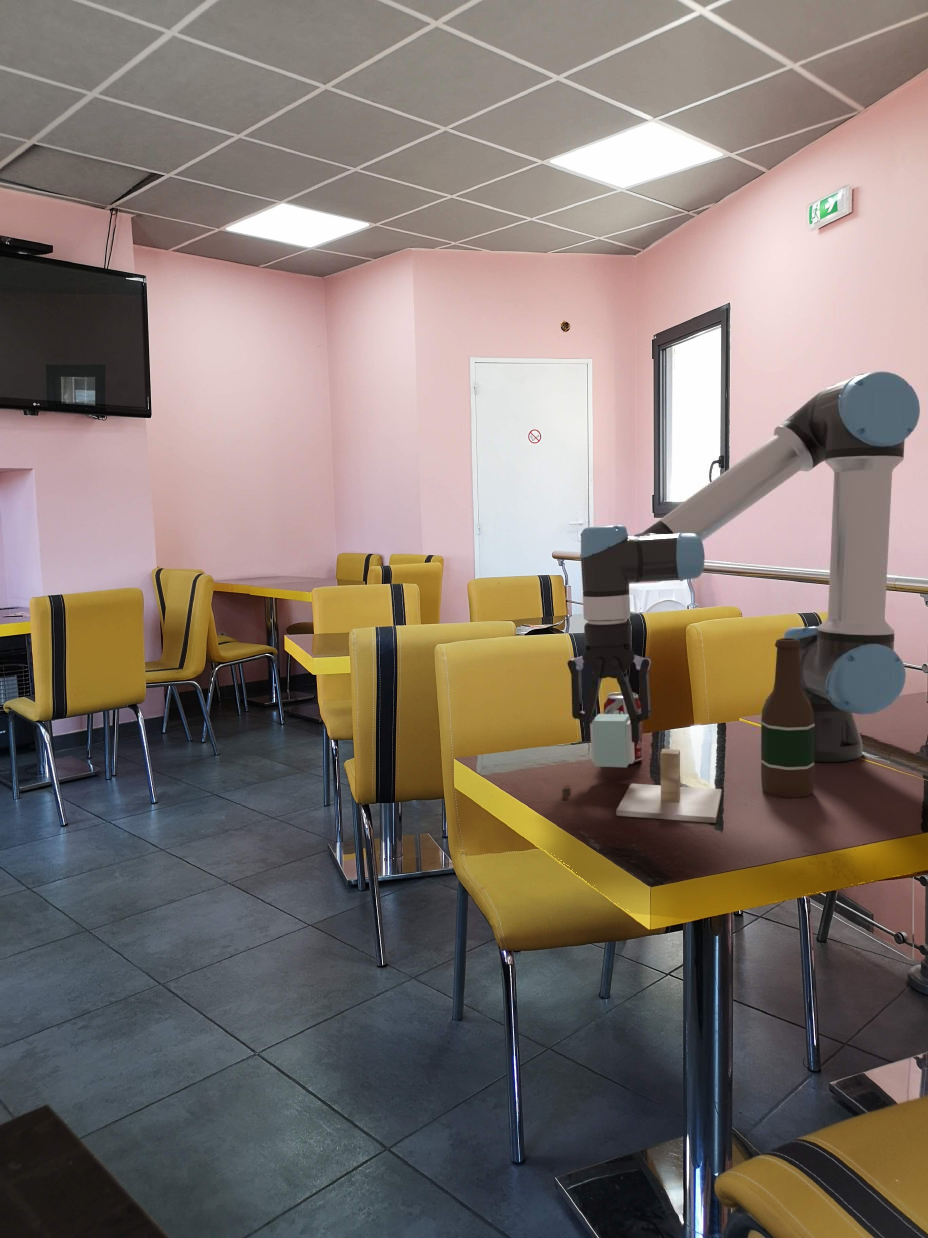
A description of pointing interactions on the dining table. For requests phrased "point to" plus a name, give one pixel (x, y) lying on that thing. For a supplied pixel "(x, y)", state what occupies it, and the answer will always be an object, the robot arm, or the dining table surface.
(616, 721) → the mint green rectangular block
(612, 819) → the dining table surface
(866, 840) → the dining table surface
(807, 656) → the robot arm
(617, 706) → the soda can
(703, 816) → the post stand
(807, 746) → the beer bottle
